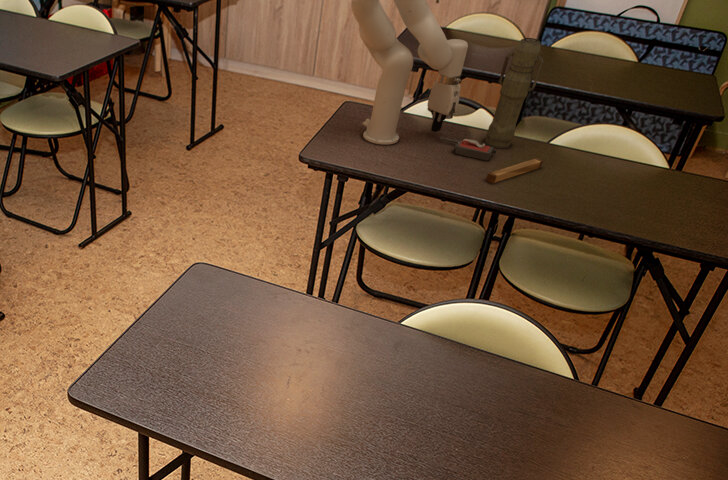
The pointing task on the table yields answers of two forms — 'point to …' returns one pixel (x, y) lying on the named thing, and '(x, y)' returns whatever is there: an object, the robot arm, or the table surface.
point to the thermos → (513, 92)
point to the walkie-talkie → (471, 148)
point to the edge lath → (514, 170)
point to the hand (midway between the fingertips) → (435, 130)
